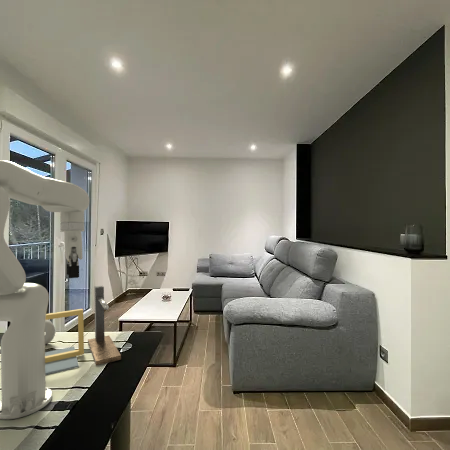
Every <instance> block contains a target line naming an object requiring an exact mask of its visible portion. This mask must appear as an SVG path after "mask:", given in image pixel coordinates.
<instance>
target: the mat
mask: <svg viewBox="0 0 450 450" xmlns="http://www.w3.org/2000/svg"><path fill="white" fill-rule="evenodd" d="M73 350H76V348H75V346H69V347H65V348H59V349H55V350H50V351H45V356H49V355H54V354H59V353H64V352H68V351H73ZM77 368H79V362H78V357H77V356H74V357H70V358H65V359H61V360H56V361H52V362H47V363H45V376H46V375H51V374H56V373H60V372H64V371H68V370H72V369H77Z"/></svg>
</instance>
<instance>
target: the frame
mask: <svg viewBox="0 0 450 450" xmlns="http://www.w3.org/2000/svg"><path fill="white" fill-rule="evenodd" d="M74 316H77V329H78V330H77V332H78V333H77V335H78V339H77V340H78V344H77V345H78V346H77V347H78V349H75V350H73V351H68V352H64V353H59V354H54V355H49V356H45V363H47V362H52V361H56V360H61V359H65V358H70V357H74V356H83V355H85V340H84V339H85V337H84V336H85V334H84V333H85V330H84V328H85V327H84V325H85V324H84V323H85V322H84V309H83V308H78V309H72V310H65V311H58V312H50V313H46V318H45V320H54V319H55V320H56V319H61V318H68V317H74Z"/></svg>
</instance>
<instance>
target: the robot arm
mask: <svg viewBox="0 0 450 450" xmlns="http://www.w3.org/2000/svg"><path fill="white" fill-rule="evenodd" d="M10 199H12V200H16V201H19V202H21V203H25V204H28V205H34V206H41V208H43V210H44V211H46V212H49V213H60V216H59V217H60V218H59V219H60V222H59V223H60V232H61V233H62V232H63V233H64V240H63V241H64V253H65V259H66V260H67V262H66V275H67V276H68V278H69V279H78V278H80V265H79V264H80V263H79V260H83V237H82V236H83V235H82V232H85V211H86V210H87V209H88V208H89V205H90V196H89V194H88V192H87V191H86V190H85V189H84V188H82V187H80V186H79V185H77V184H75V183H72V182H67V181H65V180H64V181H63V180H58V179H55V178H51V177H47V176H42V175H40V174H37V173H36V172H34V171H32V170H30V169H28V168H25V167H24V166H23V165H22V166H21V165H20V164H17V163H15V162H13V161H10V160H5V159H0V322H10V324H9V326H8V328H6V330H5V331H4V333H3V335H2V337H1V339H0V371H1V372H0V373H1V374H0V376H1V377H0V378H1V379H0V380H1V387H0V389H1V399H0V420H13V419H14V420H15V419H19V418H24V417H26V416H29V415H31V414H34V413H36V412H39V411H40V410H41V409H43V408H44V407H46V406H47V405H48V404H50V402H51V400H53V390H52V389H51V388H49V387H47V385H46V384H47V383H46V375H45V352H46V344H45V318H46V314H47V311H48V305H49V298H50V297H49V296H50V295H49V292H48V290H47V288H46V287H44V286H43V285H42V284H39V283H34V282H26V280H27V279H26V278H27V276H26V271H25V270H24V268H23V266H22V264H21V263H20V261H19V260H18V258H17V257H16V255H15V254H14V252H13V251H12V249H10V247H9V245H8V244H7V242H6V240H5V234H4V233H5V227H6V223H7V219H8V215H9V211H10V209H11V208H10V206H11V205H10V204H11V201H10Z"/></svg>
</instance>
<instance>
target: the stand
mask: <svg viewBox="0 0 450 450" xmlns="http://www.w3.org/2000/svg"><path fill="white" fill-rule="evenodd" d="M93 288H94V290H93V291H94V337H93V338H90V339H87V345H88V348H89V350H90V353H91V356H92V359H93V362H94V364H95V366H99V365H104V364H109V363H112V362H116V361H120V360H122V354H121V353H120V351H119V350H118V348H117V346H116V344H115V343H114V341H113V339H112V337H111V336H110V335H105V310H106V311H108V310H109V308H110V306H109V305H108V303H107V302H106V301H105V287H104V286H103V285H97V286H94V287H93Z"/></svg>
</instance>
